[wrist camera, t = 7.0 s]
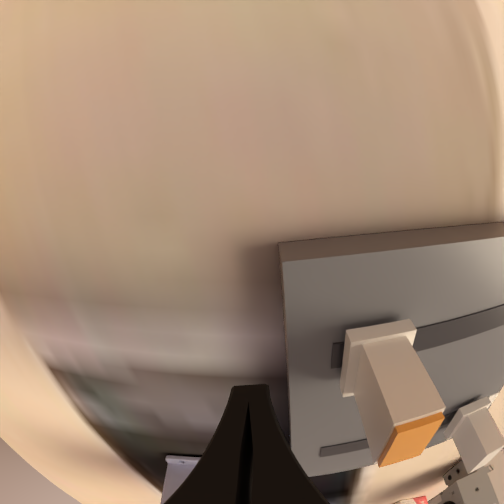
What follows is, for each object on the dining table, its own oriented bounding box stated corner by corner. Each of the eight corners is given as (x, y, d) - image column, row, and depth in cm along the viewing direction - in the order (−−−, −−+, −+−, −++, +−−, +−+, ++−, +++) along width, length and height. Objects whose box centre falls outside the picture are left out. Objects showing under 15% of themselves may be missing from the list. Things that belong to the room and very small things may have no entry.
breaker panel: (290, 461, 20) (292, 479, 19) (278, 242, 12) (282, 263, 11) (468, 415, 20) (475, 428, 18) (545, 218, 12) (564, 229, 10)
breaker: (443, 432, 17) (461, 477, 12) (459, 408, 15) (483, 456, 11) (470, 421, 16) (490, 462, 12) (487, 395, 15) (512, 439, 11)
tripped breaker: (339, 385, 13) (362, 474, 8) (345, 329, 12) (383, 431, 7) (395, 374, 13) (429, 454, 8) (409, 318, 11) (462, 405, 7)
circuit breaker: (439, 463, 25) (466, 548, 11) (501, 437, 25) (531, 504, 12) (412, 485, 28) (433, 561, 14) (475, 462, 28) (499, 524, 15)
